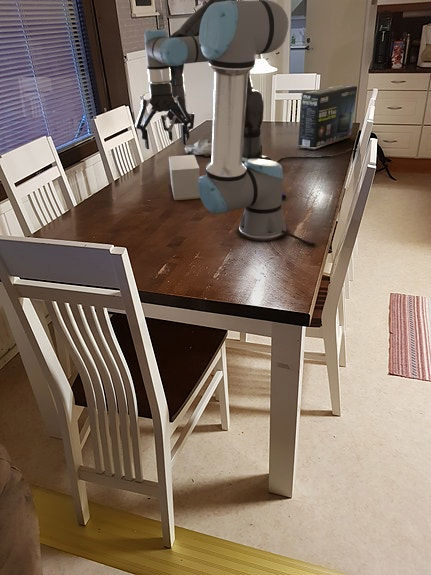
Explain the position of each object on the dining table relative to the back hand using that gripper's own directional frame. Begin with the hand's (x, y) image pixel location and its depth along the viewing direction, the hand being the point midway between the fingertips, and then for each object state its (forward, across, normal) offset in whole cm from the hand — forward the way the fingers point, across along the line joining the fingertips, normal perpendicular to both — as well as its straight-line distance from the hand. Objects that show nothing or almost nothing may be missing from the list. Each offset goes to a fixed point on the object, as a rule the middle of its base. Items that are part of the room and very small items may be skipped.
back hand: (179, 140), depth 191 cm
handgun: (+17, -33, +24) cm, 44 cm away
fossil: (+17, -14, -42) cm, 47 cm away
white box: (+17, 0, +15) cm, 23 cm away
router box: (+17, -80, -43) cm, 92 cm away
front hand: (-4, +7, +26) cm, 27 cm away
